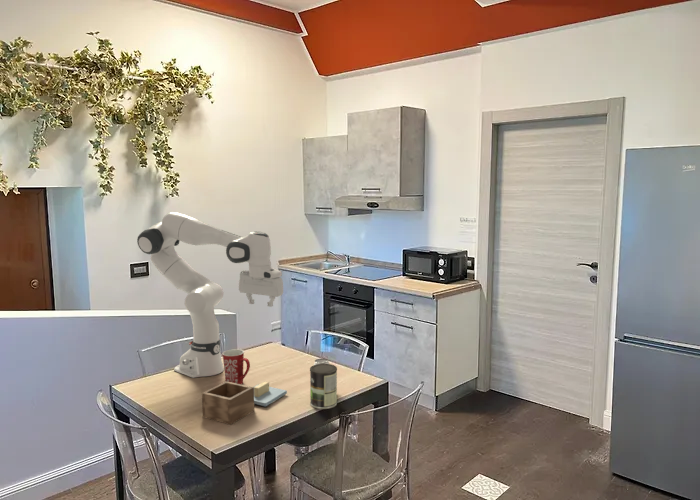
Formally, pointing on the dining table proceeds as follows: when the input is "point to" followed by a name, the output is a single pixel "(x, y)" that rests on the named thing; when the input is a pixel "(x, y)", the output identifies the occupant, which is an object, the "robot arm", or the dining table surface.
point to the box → (228, 402)
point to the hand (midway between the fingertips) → (260, 305)
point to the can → (321, 361)
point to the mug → (234, 365)
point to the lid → (266, 394)
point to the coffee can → (323, 386)
